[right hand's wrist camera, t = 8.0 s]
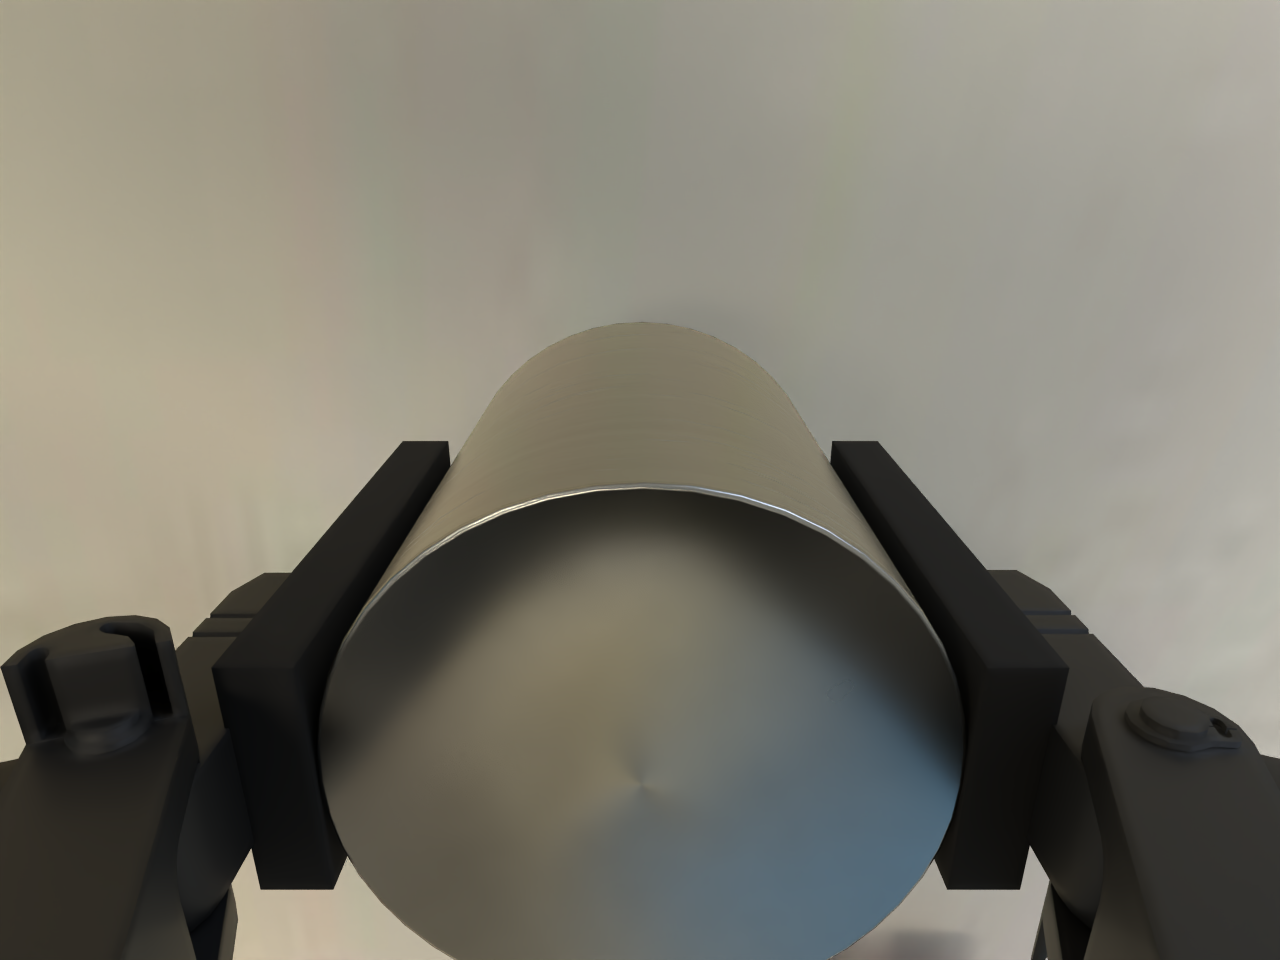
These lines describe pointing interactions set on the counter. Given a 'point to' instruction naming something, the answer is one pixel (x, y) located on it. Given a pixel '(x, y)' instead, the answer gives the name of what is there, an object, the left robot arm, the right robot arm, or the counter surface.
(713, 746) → the tin
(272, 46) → the counter surface
